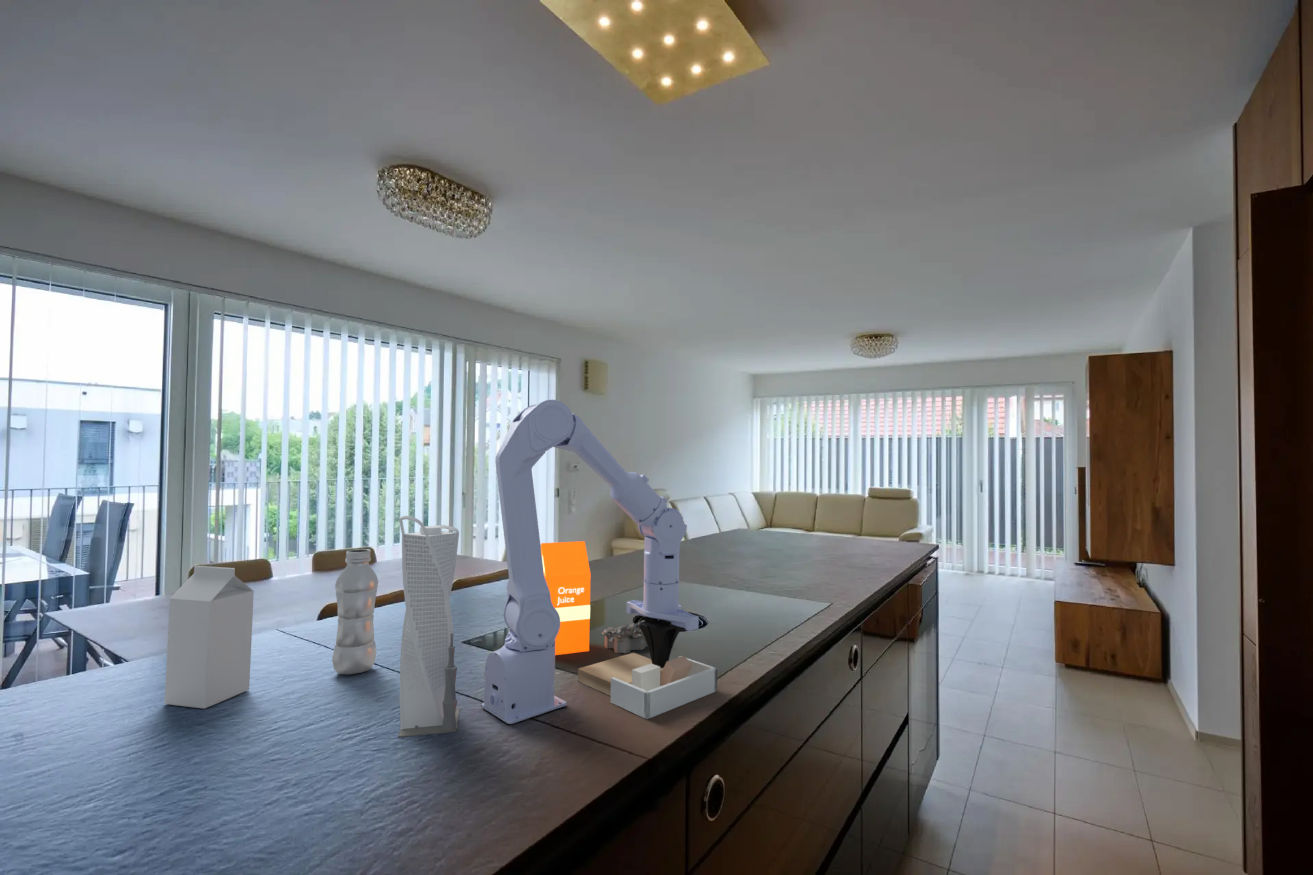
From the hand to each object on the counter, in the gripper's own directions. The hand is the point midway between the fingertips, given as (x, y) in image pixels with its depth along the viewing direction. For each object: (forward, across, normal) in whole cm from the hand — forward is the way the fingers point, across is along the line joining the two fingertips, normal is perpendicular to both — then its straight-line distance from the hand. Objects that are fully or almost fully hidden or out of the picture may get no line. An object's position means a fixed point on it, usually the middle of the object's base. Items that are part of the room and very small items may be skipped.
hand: (660, 666), depth 94 cm
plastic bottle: (+3, +38, +34) cm, 51 cm away
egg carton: (+3, +18, -10) cm, 21 cm away
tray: (+3, -4, +3) cm, 6 cm away
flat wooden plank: (+3, +5, +3) cm, 6 cm away
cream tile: (0, -1, +5) cm, 6 cm away
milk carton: (+3, +41, +53) cm, 67 cm away
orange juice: (+3, +26, +1) cm, 26 cm away
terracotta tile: (0, -2, 0) cm, 2 cm away
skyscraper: (+3, +12, +33) cm, 35 cm away
